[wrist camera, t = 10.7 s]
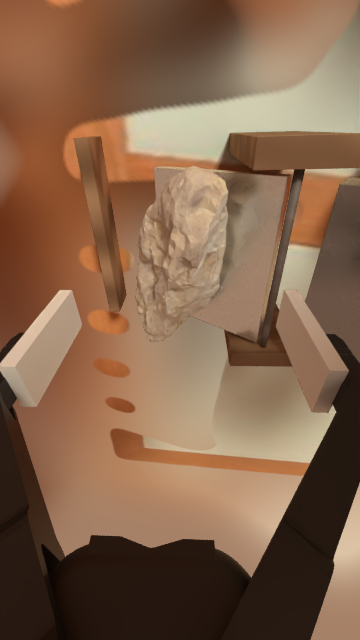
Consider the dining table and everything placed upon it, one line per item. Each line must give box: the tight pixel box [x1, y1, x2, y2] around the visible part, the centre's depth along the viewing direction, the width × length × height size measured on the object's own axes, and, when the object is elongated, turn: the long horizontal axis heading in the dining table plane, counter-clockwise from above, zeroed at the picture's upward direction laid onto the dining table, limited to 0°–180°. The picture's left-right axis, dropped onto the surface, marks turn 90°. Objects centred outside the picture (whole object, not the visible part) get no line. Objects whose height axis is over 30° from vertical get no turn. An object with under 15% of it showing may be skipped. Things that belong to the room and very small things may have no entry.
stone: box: [135, 166, 228, 342], centre depth 21 cm, size 8×12×10 cm
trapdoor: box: [154, 166, 360, 363], centre depth 22 cm, size 13×19×3 cm
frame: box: [74, 131, 360, 366], centre depth 25 cm, size 18×20×13 cm
